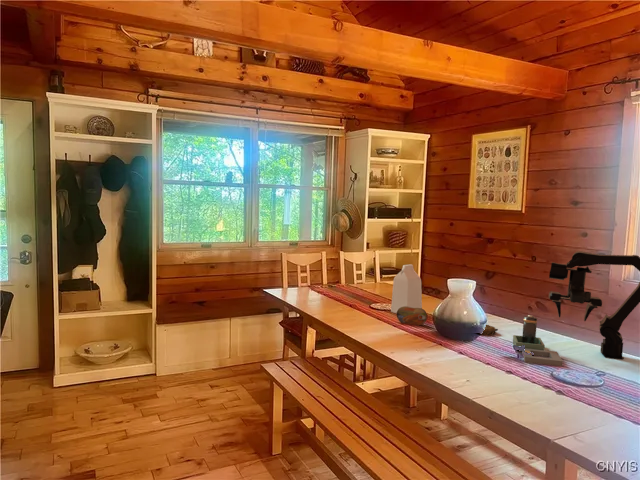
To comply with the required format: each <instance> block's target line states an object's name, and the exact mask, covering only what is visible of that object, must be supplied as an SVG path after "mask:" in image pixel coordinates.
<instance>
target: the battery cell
mask: <svg viewBox="0 0 640 480" xmlns="http://www.w3.org/2000/svg"><path fill="white" fill-rule="evenodd" d="M522 321H523V323H522V324H523V325H522V335H521V336H522V343H531V344H535V339H536V336H537V326H538V324H537V323H538V318H537V317H536V316H534V315H532V314H527V315H524V316H523V320H522Z"/></svg>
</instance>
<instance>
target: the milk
mask: <svg viewBox="0 0 640 480" xmlns="http://www.w3.org/2000/svg"><path fill="white" fill-rule="evenodd" d="M392 282H393V283H392V293H391V307H390V308H391V309H390V313H394V314H397V311H398V309H399V308H401V307H404V306H407V307H415V308H422V309H423V302H422V300H423V297H422V294H423V293H422V279H421V277H420V275H419V274H418V273H417V272H416V271H415V269H414V265H413V264H403V265H402V268H401V270H400V271H399V272H398V273H397V274H396V275H395V276H394V278H393V281H392Z"/></svg>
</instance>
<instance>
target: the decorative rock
mask: <svg viewBox="0 0 640 480" xmlns="http://www.w3.org/2000/svg"><path fill="white" fill-rule="evenodd" d="M498 331H499V329H498V328H496V327H495V326H493V325H489V324H487V325H486V327H485V330H484V331H483V333H482V336H487V337H490V336H493V334H496V332H498Z"/></svg>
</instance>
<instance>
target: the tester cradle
mask: <svg viewBox="0 0 640 480" xmlns="http://www.w3.org/2000/svg"><path fill="white" fill-rule="evenodd" d="M525 352H527V353H530V352H533V353H534V356H532V354H531V353H530V355H525V354H524V359H523V362H524V363H529V364H539V365H545V366H547V365H549V366H554V367H563V363H564V362H563V361H564V360H563V359H562V358H561V356H560V355H559V353H558V351H555V350H554V351H553V350H546V349H544V350H536V349H526V348H525Z"/></svg>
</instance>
